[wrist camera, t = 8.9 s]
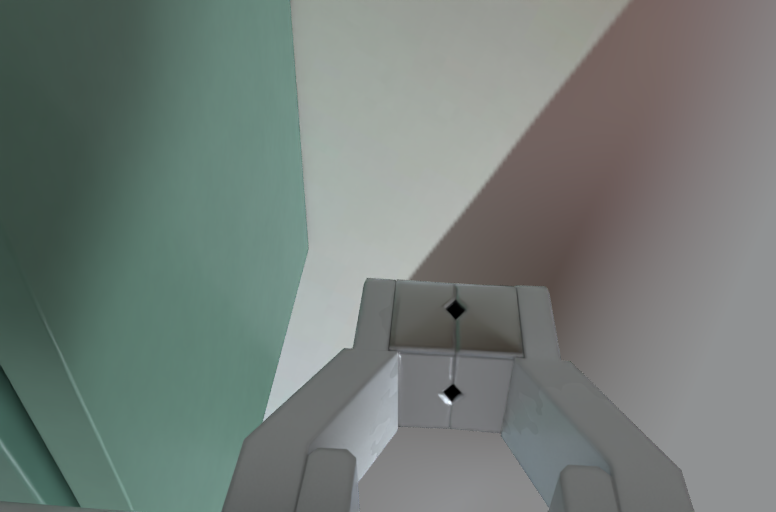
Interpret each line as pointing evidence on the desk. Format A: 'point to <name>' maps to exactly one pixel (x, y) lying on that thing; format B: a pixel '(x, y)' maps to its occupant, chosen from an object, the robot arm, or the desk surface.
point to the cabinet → (27, 457)
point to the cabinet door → (148, 236)
